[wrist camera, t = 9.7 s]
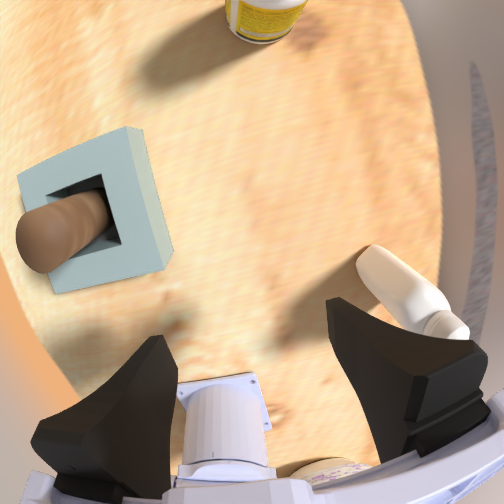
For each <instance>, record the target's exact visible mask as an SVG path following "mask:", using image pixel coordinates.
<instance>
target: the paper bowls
mask: <svg viewBox="0 0 504 504" xmlns="http://www.w3.org/2000/svg"><path fill="white" fill-rule="evenodd" d="M369 468H372V467H371V466H369V465H367V464H363V463H362V464H361V463H355V462H353V461H352V460H350V459H346V458H332V459H326V460H321V461H317V462H314V463H311V464H309V465H306V466H304V467H302V468H300V469H298V470H297V471H295V472H294V473H293V474H292V475H291V476H290V477H289V478H297V479H303V480H305V481H306V482H308V483H309V484H310V485H311V486H312V485H316V484H320V483H324V482H328V481H331V480H335V479H338V478H342V477H345V476H348V475H351V474H355V473H358V472H361V471H364V470H366V469H369Z"/></svg>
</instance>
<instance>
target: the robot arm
mask: <svg viewBox="0 0 504 504" xmlns="http://www.w3.org/2000/svg"><path fill="white" fill-rule="evenodd" d="M326 309H327V320H328V332H329V339H330V342H331V344H332V347H333V350H334V352H335V355H336V357H337V359H338V361H339V362H340V364H341V366H342V368H343V370H344V372H345V373H346V375H347V377H348V379H349V381H350V383H351V384H352V386H353V388H354V390H355V392H356V394H357V396H358V398H359V400H360V403H361V405H362V408H363V410H364V413H365V416H366V418H367V421H368V424H369V427H370V430H371V433H372V436H373V439H374V442H375V445H376V448H377V451H378V455H379V458H380V462H381V464H380V465H377V466H375V467H372V468H369V469H366V470H364V471H361V472H358V473H355V474H351V475H348V476H345V477H342V478H338V479H335V480H331V481H328V482H324V483H320V484H316V485H312V486H311V485H310V484H309V483H308V482H306V481H305V480H303V479H297V478H289V477H285V478H277V476H276V469H275V468H269V462H268V455H267V448H266V441H265V434H264V431H269V430H271V429H272V425H271V422H270V418H269V415H268V412H267V408H266V405H265V402H264V398H263V395H262V392H261V388H260V385H259V381H258V378H257V375H256V373H253V372H250V373H244V374H239V375H233V376H228V377H222V378H216V379H209V380H202V381H195V382H188V383H180V384H178V367H177V365H176V363H175V361H174V359H173V357H172V355H171V352H170V350H169V348H168V346H167V344H166V341H165V339H164V337H163V335H157V336H151V337H149V338H148V339H147V340H146V341H145V342H144V343H143V344H142V345H141V346H140V348H139V349H138V350H137V351H136V352H135V353H134V354H133V355H132V356H131V357H130V359H129V360H128V361H127V362H126V363H125V364H124V365H123V366H122V367H121V368H120V369H119V370H118V371H117V372H116V373H115V374H114V375H113V376H112V377H111V378H110V379H109V380H108V381H107V382H105V383H104V384H103V385H102V386H101V387H99V388H98V389H97V390H96V391H94V392H93V393H92V394H90V395H89V396H87V397H86V398H84V399H83V400H81V401H80V402H78V403H77V404H75V405H73V406H72V407H70V408H68V409H66V410H64V411H62V412H60V413H58V414H55V415H53V416H51V417H48V418H46V419H43V420H41V421H40V422H39V424H38V426H37V428H36V431H35V433H34V435H33V437H32V439H31V445H32V448H33V449H34V451H35V452H36V453H37V454H38V455H39V456H40V457H41V458H42V459H43V460H44V461H45V462H46V463H47V464H48V465H49V466H51V467H52V468H53V469H54V470H55V471H56V472H57V473H58V474H57V477H56V478H55V477H53V476H51V475H48V474H45V473H41V472H38V471H34V470H33V471H31V474H30V477H29V479H28V482H27V485H26V487H25V490H24V493H23V496H22V499H21V502H20V504H454V503H455V502H457V501H458V500H460V499H461V498H463V497H464V496H466V495H467V494H469V493H470V492H471V491H473V490H474V489H476V488H477V487H479V486H480V485H481V484H483V483H484V482H486V481H487V480H488V479H490V478H491V477H492V476H493V475H495V474H496V473H497V472H499V471H500V470H501V469H502V468H504V388H503V389H502V390H500V391H499V392H497V393H496V394H495V395H493V396H492V397H491V398H490V399H489V400H488V401H487V402H486V403H484V401H483V400H482V399H481V398H482V397H483V392H482V391H481V390H480V389H479V386H480V383H481V381H482V379H483V376H484V374H485V371H486V368H487V364H488V356H487V354H486V353H485V352H484V351H483V350H482V349H481V348H480V347H479V346H478V345H477V344H476V343H475V342H474V341H473V340H458V339H445V338H437V337H431V336H426V335H422V334H418V333H414V332H410V331H407V330H404V329H401V328H398V327H395V326H393V325H390V324H388V323H386V322H384V321H381V320H379V319H377V318H375V317H373V316H371V315H369V314H368V313H366V312H364V311H362V310H360V309H359V308H357V307H355V306H354V305H352V304H350V303H349V302H347V301H345V300H343V299H342V298H340V297H337V298H333V299H330V300H326ZM252 380H254V381H252ZM179 391H180V392H179ZM176 395H177V397H178V399H179V400H180V402H181V404H182V406H183V407H184V409H185V411H186V413H187V415H186V425H185V435H184V445H183V457H182V465H179V466H178V476H175V475H170V431H171V423H172V417H173V411H174V405H175V400H176Z"/></svg>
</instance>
